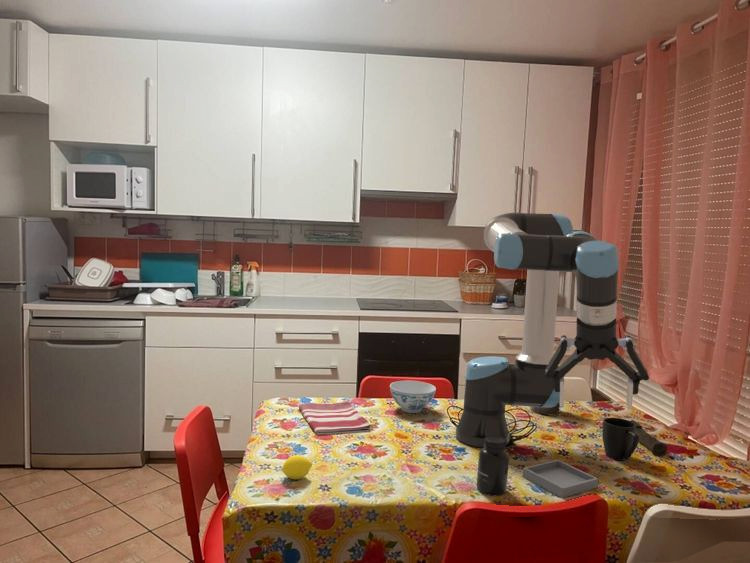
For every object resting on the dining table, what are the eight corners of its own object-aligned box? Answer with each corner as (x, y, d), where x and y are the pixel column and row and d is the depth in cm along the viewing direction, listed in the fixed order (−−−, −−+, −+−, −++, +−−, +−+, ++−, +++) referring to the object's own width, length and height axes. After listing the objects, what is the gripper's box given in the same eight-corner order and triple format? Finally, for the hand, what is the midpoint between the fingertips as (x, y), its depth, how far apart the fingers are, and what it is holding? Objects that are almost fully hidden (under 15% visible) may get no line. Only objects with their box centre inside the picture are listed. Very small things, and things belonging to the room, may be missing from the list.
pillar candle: (565, 414, 190) (568, 370, 189) (540, 416, 187) (543, 371, 186) (547, 405, 199) (550, 363, 198) (523, 407, 196) (526, 364, 195)
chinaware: (391, 401, 195) (392, 379, 195) (435, 405, 193) (436, 382, 193) (386, 414, 181) (387, 390, 180) (433, 419, 179) (435, 395, 178)
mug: (618, 468, 147) (621, 432, 146) (594, 450, 159) (597, 417, 158) (648, 468, 148) (651, 432, 147) (622, 450, 160) (625, 417, 159)
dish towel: (349, 408, 187) (349, 400, 187) (372, 432, 165) (372, 424, 165) (298, 410, 182) (298, 402, 182) (315, 437, 160) (315, 427, 160)
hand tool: (667, 457, 157) (668, 441, 156) (652, 456, 157) (654, 440, 156) (636, 433, 176) (638, 418, 175) (623, 432, 176) (625, 418, 175)
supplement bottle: (473, 492, 129) (476, 441, 128) (479, 480, 135) (482, 431, 134) (504, 499, 127) (507, 446, 126) (508, 486, 133) (512, 436, 132)
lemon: (284, 486, 129) (282, 463, 128) (281, 476, 134) (279, 454, 133) (315, 480, 131) (313, 457, 130) (311, 470, 136) (308, 448, 135)
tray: (522, 476, 139) (523, 467, 139) (557, 468, 145) (557, 459, 145) (561, 497, 128) (562, 488, 128) (597, 487, 135) (598, 478, 135)
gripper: (531, 326, 115) (534, 412, 123) (668, 326, 108) (661, 417, 116) (532, 309, 122) (535, 392, 130) (661, 308, 114) (655, 395, 123)
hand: (595, 404), depth 123 cm, fingers open, 13 cm apart
